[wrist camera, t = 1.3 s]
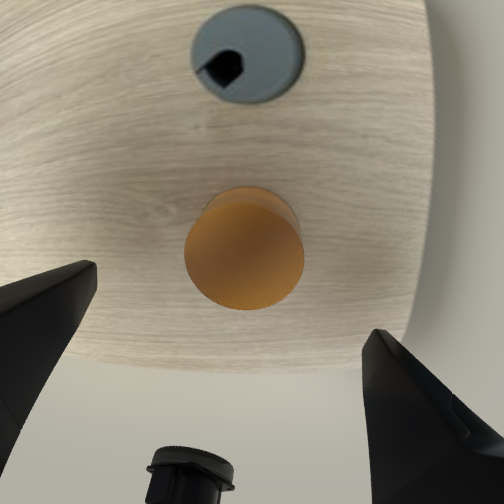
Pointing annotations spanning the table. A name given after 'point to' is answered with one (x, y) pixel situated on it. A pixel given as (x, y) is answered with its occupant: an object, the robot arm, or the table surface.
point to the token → (245, 249)
